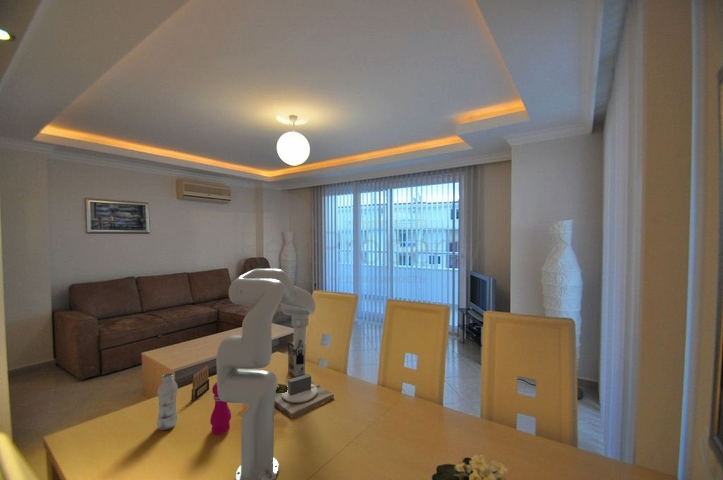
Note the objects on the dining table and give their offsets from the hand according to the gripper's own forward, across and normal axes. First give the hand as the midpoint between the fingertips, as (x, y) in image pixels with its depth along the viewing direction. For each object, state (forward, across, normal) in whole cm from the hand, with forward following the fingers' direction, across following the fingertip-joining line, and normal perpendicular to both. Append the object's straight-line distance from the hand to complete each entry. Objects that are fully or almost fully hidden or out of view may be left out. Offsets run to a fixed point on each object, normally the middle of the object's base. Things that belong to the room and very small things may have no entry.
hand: (299, 359), depth 135 cm
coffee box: (+17, -29, -1) cm, 33 cm away
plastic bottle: (+19, +9, -50) cm, 54 cm away
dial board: (+18, -1, 0) cm, 18 cm away
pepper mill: (+19, +15, -30) cm, 38 cm away
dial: (+16, -1, 0) cm, 16 cm away
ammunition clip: (+18, -14, -45) cm, 50 cm away
